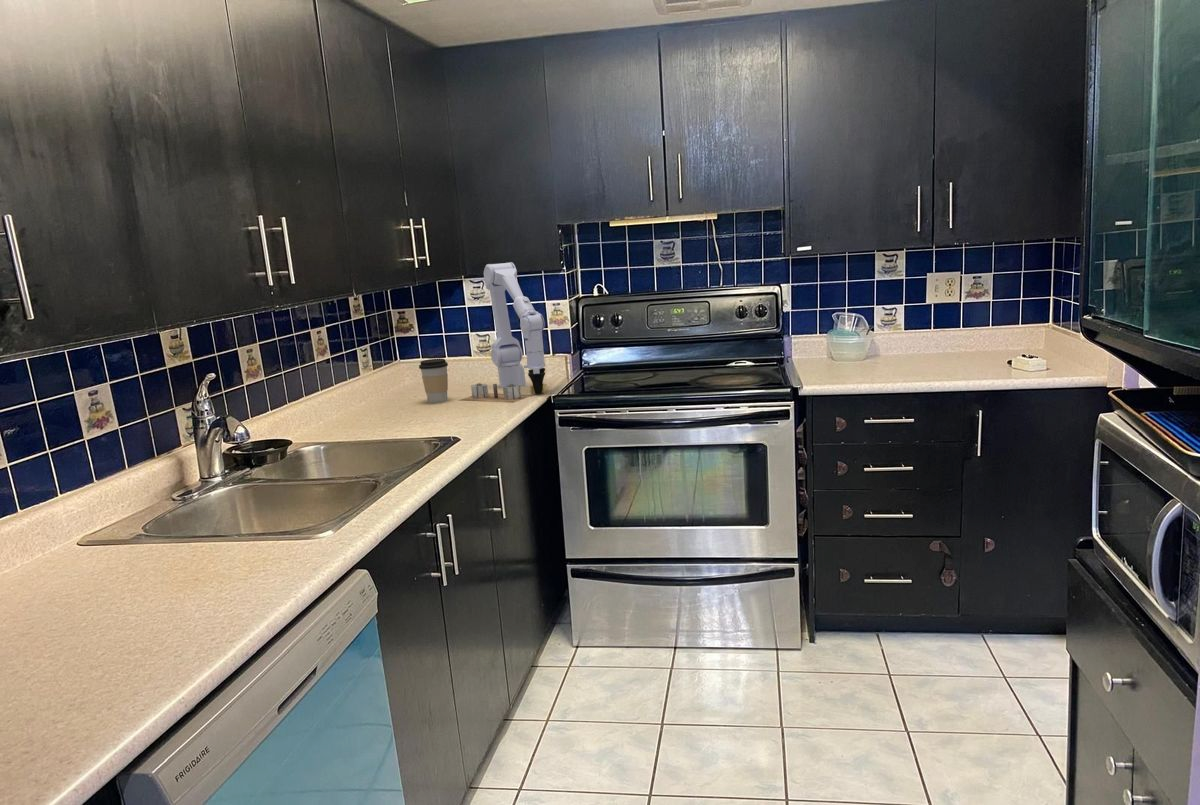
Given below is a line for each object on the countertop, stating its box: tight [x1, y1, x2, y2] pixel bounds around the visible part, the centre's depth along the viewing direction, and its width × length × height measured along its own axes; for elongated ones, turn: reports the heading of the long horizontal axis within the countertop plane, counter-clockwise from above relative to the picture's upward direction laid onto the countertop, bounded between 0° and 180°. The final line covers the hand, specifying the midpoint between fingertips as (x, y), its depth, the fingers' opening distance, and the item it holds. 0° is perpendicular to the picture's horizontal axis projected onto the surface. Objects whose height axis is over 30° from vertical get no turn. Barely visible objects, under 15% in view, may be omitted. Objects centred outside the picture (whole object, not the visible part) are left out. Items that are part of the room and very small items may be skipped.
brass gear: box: [529, 382, 548, 395], centre depth 269 cm, size 5×5×4 cm
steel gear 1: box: [470, 383, 489, 399], centre depth 269 cm, size 5×5×4 cm
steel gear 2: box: [502, 384, 522, 400], centre depth 262 cm, size 5×5×4 cm
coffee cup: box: [418, 358, 449, 404], centre depth 267 cm, size 9×9×15 cm
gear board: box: [458, 382, 534, 404], centre depth 266 cm, size 12×22×6 cm, turn 61°
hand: (538, 392), depth 270 cm, fingers closed on brass gear, 5 cm apart
